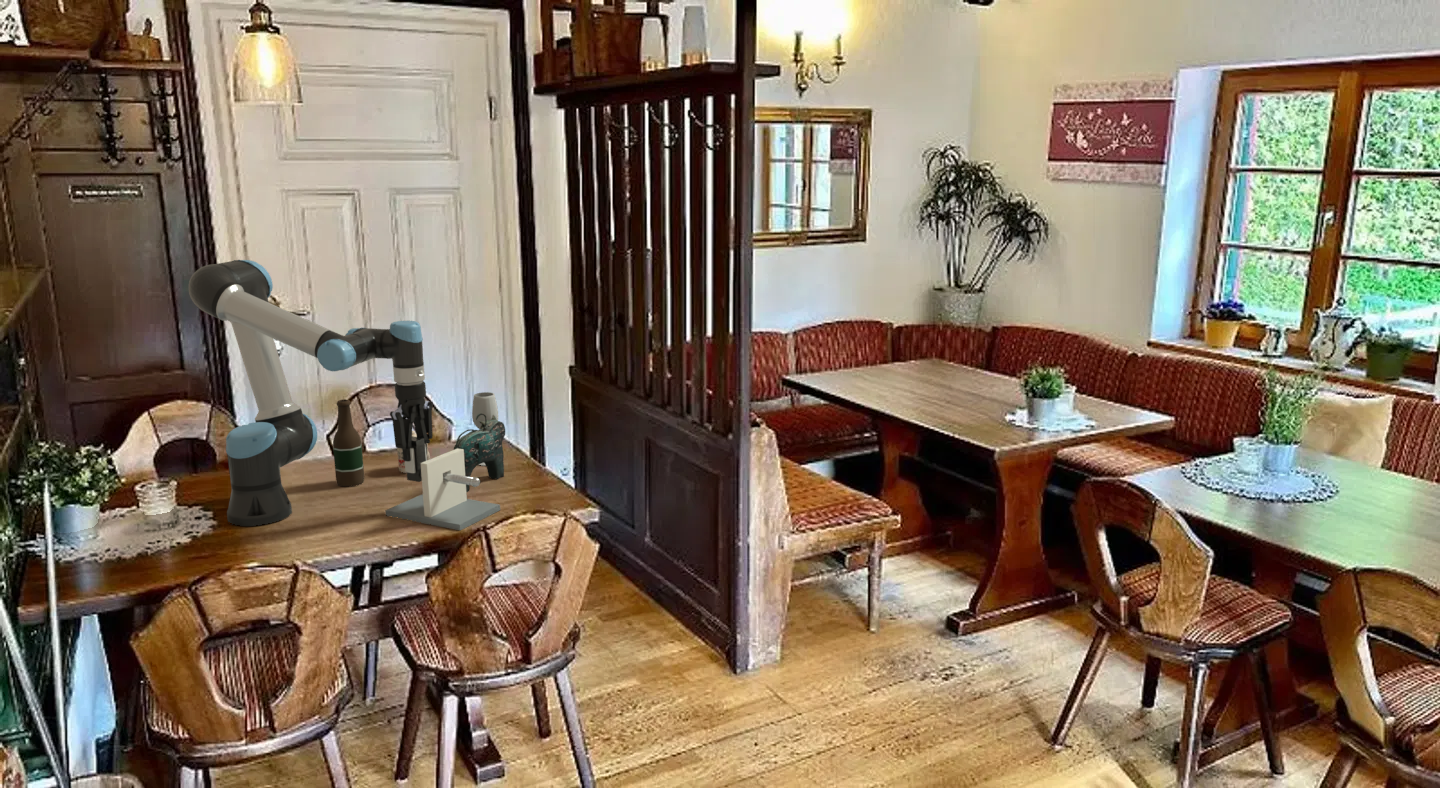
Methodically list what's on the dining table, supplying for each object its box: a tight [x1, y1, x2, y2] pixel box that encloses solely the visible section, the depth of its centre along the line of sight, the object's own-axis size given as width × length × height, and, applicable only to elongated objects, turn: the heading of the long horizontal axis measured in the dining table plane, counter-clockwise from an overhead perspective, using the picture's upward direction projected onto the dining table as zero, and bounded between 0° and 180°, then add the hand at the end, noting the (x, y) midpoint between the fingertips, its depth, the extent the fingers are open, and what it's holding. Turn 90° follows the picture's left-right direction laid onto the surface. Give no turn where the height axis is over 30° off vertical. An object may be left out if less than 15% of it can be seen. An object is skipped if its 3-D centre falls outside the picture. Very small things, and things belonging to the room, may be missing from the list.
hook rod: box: [406, 436, 481, 488], centre depth 258 cm, size 3×22×11 cm, turn 65°
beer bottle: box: [332, 399, 365, 488], centre depth 283 cm, size 8×8×24 cm
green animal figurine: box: [453, 413, 506, 493], centre depth 282 cm, size 20×6×20 cm, turn 152°
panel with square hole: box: [385, 448, 501, 531], centre depth 260 cm, size 16×24×16 cm, turn 65°
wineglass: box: [471, 391, 499, 467], centre depth 301 cm, size 8×8×21 cm
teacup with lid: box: [396, 430, 431, 474], centre depth 295 cm, size 12×9×12 cm
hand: (416, 469), depth 262 cm, fingers open, 4 cm apart
